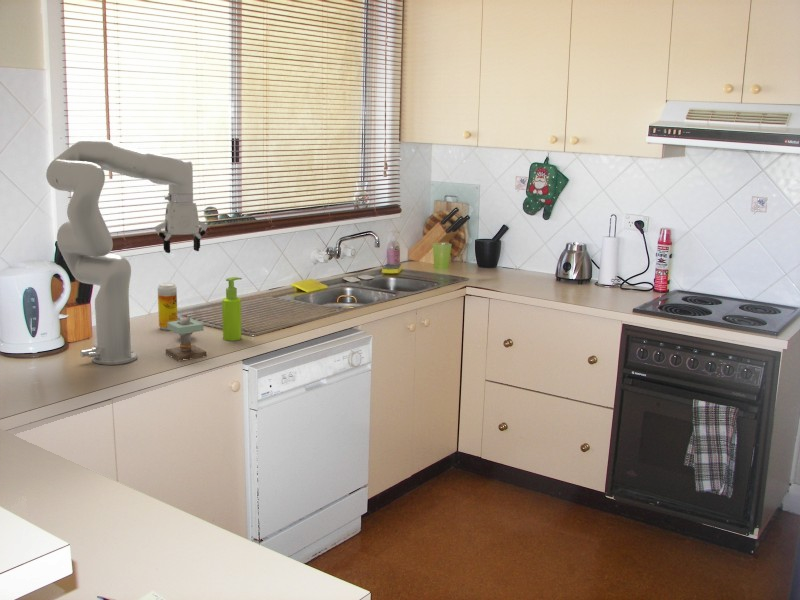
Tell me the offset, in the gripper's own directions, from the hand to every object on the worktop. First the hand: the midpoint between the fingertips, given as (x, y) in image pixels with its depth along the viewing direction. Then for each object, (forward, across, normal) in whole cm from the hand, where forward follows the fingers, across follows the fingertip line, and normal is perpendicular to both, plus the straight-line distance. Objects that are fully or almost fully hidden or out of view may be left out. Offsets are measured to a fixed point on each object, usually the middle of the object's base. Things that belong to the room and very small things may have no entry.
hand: (182, 251), depth 281 cm
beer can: (+28, -2, +9) cm, 29 cm away
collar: (+20, -8, -24) cm, 32 cm away
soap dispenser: (+28, +12, -13) cm, 33 cm away
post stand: (+28, -8, -24) cm, 38 cm away
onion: (+28, -2, -6) cm, 28 cm away
